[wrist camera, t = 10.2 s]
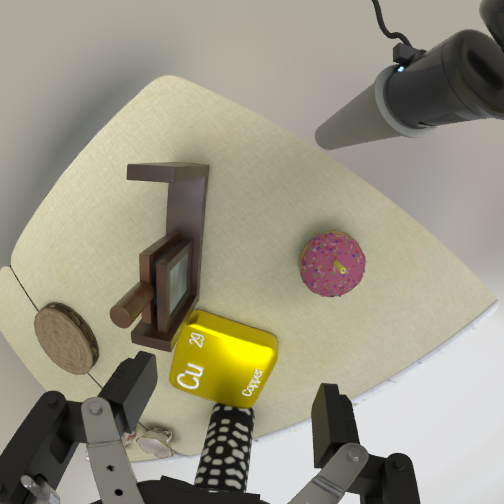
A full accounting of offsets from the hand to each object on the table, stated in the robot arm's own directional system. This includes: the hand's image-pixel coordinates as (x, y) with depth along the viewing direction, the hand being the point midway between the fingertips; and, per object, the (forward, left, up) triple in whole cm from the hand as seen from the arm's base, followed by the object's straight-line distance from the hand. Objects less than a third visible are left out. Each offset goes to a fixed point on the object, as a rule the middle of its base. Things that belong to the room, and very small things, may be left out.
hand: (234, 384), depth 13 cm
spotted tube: (+36, -1, -28) cm, 46 cm away
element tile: (+21, -4, -28) cm, 36 cm away
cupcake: (+1, +9, -28) cm, 30 cm away
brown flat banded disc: (+26, -37, -28) cm, 53 cm away
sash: (+5, -12, -26) cm, 29 cm away
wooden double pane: (+1, -11, -28) cm, 30 cm away
